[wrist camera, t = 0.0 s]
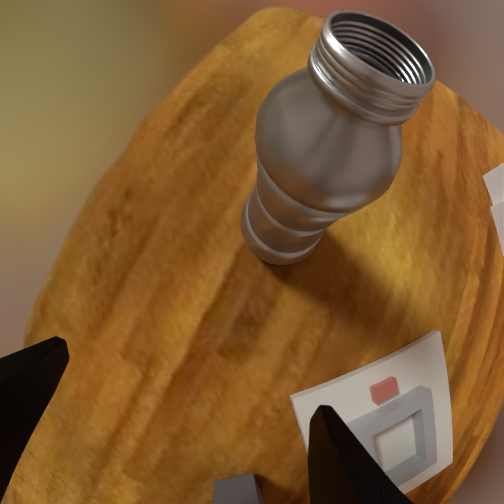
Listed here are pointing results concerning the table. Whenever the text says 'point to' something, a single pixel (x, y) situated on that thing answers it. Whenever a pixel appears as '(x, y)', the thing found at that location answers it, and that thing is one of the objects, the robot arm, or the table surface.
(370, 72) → the plastic bottle
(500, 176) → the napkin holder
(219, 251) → the table surface
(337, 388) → the socket
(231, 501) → the plug
